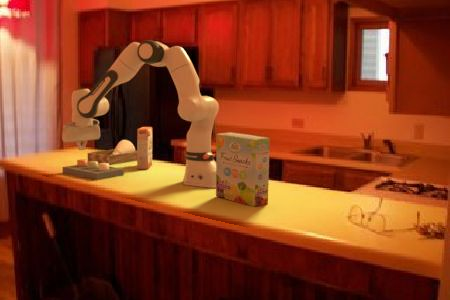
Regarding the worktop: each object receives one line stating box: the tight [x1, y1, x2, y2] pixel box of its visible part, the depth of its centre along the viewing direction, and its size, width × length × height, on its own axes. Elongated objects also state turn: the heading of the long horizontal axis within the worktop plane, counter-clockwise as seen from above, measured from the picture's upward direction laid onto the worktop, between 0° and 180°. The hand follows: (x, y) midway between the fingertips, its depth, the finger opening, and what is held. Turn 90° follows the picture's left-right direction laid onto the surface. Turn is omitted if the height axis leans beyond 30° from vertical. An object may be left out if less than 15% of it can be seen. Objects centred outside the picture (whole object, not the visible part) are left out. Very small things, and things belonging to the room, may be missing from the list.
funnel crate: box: [87, 148, 137, 166], centre depth 279 cm, size 17×25×5 cm
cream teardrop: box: [109, 139, 136, 156], centre depth 279 cm, size 12×12×18 cm
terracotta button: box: [76, 158, 88, 168], centre depth 244 cm, size 5×5×4 cm
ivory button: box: [98, 163, 110, 172], centre depth 234 cm, size 5×5×4 cm
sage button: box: [87, 161, 98, 169], centre depth 239 cm, size 5×5×4 cm
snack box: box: [215, 131, 271, 208], centre depth 191 cm, size 22×9×26 cm, turn 45°
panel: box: [62, 164, 125, 181], centre depth 239 cm, size 26×16×3 cm, turn 53°
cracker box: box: [136, 126, 153, 170], centre depth 259 cm, size 14×6×21 cm, turn 179°
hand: (81, 149), depth 243 cm, fingers closed
